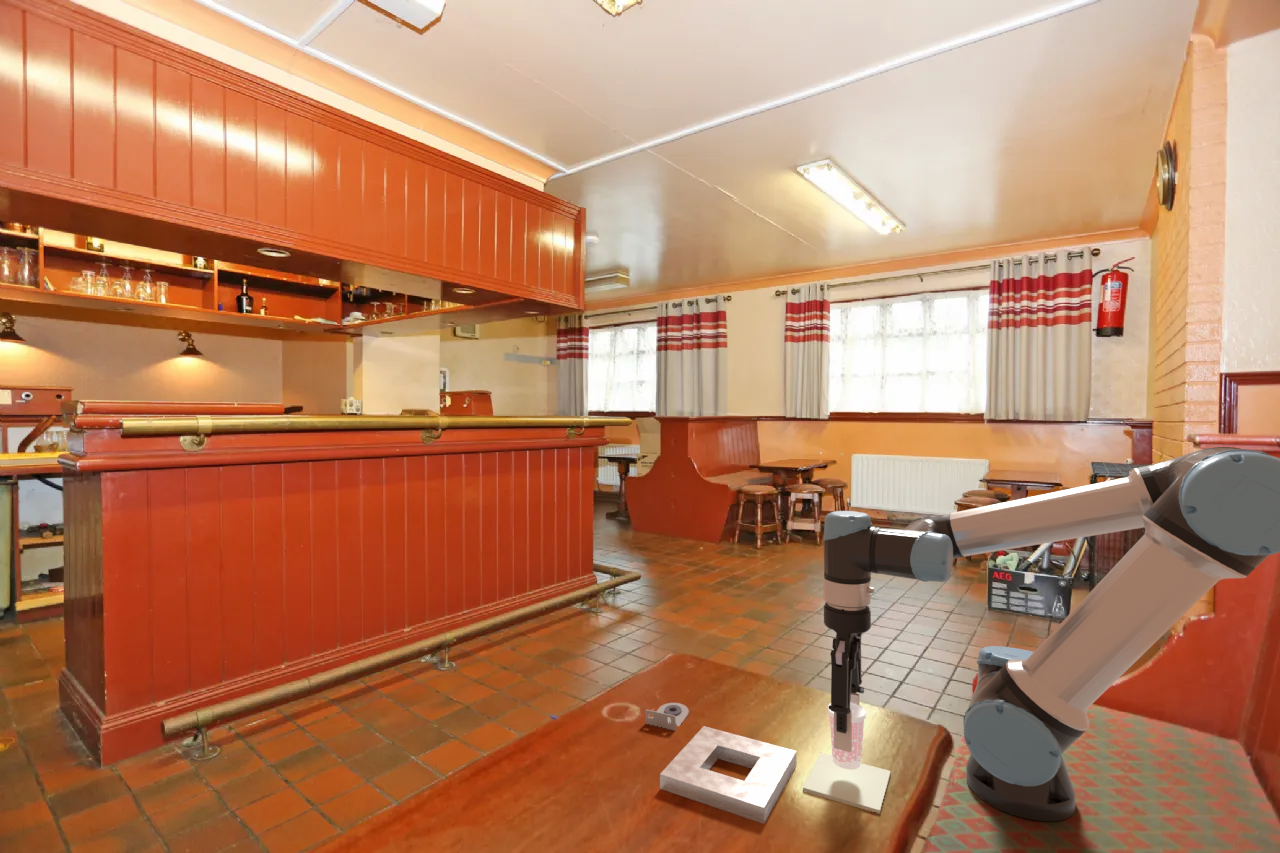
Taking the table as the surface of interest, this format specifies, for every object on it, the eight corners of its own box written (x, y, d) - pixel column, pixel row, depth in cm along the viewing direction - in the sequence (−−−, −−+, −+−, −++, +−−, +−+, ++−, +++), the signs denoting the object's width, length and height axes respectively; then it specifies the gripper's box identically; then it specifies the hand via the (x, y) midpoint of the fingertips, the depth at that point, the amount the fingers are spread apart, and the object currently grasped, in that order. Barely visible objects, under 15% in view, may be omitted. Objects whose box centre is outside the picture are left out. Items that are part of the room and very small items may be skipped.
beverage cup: (848, 748, 106) (848, 669, 106) (873, 767, 101) (874, 684, 100) (820, 756, 104) (820, 675, 104) (844, 775, 98) (844, 690, 98)
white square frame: (796, 764, 108) (796, 750, 108) (764, 824, 92) (764, 807, 92) (703, 738, 117) (703, 726, 117) (660, 788, 101) (659, 773, 101)
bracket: (693, 710, 129) (693, 694, 129) (675, 733, 120) (674, 716, 120) (665, 704, 132) (664, 689, 132) (645, 726, 123) (644, 709, 122)
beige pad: (890, 774, 105) (890, 771, 105) (879, 814, 94) (879, 810, 94) (820, 755, 111) (820, 752, 111) (802, 791, 100) (802, 787, 100)
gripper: (859, 624, 92) (859, 775, 92) (879, 592, 108) (879, 720, 109) (810, 616, 96) (810, 761, 96) (836, 586, 112) (836, 710, 112)
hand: (846, 739), depth 102 cm, fingers closed on beverage cup, 6 cm apart
